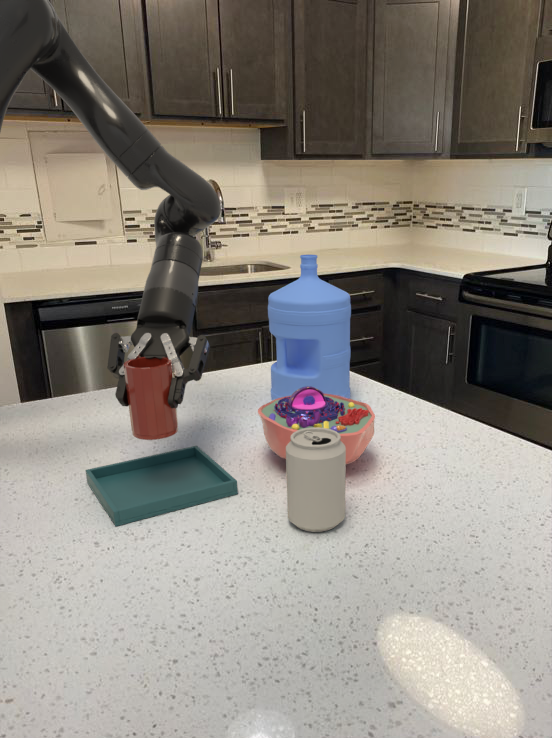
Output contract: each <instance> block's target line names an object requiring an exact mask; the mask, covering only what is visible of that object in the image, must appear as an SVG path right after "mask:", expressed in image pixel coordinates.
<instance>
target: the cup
mask: <svg viewBox="0 0 552 738" xmlns="http://www.w3.org/2000/svg"><path fill="white" fill-rule="evenodd" d="M124 373H125V381H126V389H127V397H128V405H129V406H128V412H129V420H130V421H129V422H130V428H131V433H132V436H133V437H134V438H136V439H139V440H143V441H155V440H157V441H158V440H162V439H163V440H164V439H167V438H169V437H172V436H175V434H176V435H177V433H178V432H179V422H178V421H179V419H178V411H177V409H178V408H171V407H170V405H169V404H168V396H169V391H170V386H171V380H172V377H174V371H173V369H172V360H169V359H168V358H167V357H165V358H163V359H161V360H160V359H157V358H154V359H147V358H145V357H139V358H136V359H130V360H128V361H127V360H125V361H124Z"/></svg>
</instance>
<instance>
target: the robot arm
mask: <svg viewBox="0 0 552 738" xmlns="http://www.w3.org/2000/svg"><path fill="white" fill-rule="evenodd" d="M30 70H31V72H33V73H35V74H36V75H37V76H38V77H39V78H40V79H42V80H43V81H44V82H45V83H46V84H47V85H48V86H49V87H50V88H51V89H52V91H54V92H55V93H56V94H57V95H58V96H59V97H60V99H62V100H63V102H64V103H65V104H66V105H67V106H68V107H69V108H70V110H71V111H72V113H74V115H75V116H76V117H77V119H78V120H79V122H80V123H81V125H83V127H84V128H85V129H86V131H87V132H88V134H90V136H91V137H92V139H93V140H94V141H95V143H96V144H97V145H98V146H99V148H100V149H101V150H102V151H103V152H104V154H105V155H106V156H107V157H108V158H109V160H110V161H111V162H112V163H113V164H114V165H115V166H116V167H117V168H118V169H119V170H120V172H121V173H122V174H123V175H124V176H125V177H126V178H127V179H128V181H129V182H130V183H131V184H132V185H133V186H134V187H136V188H137V189H138V190H140V191H148V190H150V189H153V188H159V189H160V190H162V191H164V192H166V193H167V194H169V195H167V196H166V197H164V198H163V199H162V201H161V202H160V203H159V205H158V207H157V209H156V211H155V215H154V218H153V219H154V223H153V224H154V227H153V228H154V240H155V241H154V243H155V250H154V253H153V257H152V262H151V267H150V269H149V272H148V275H147V277H146V280H145V285H144V287H143V288H144V289H143V293H142V297H141V302H140V305H139V311H138V315H137V320H136V328H135V330H134V331H133V332H132V333H131V335H120V334H119V333H118V332H114V333H112V334H111V336H110V342H109V343H110V344H109V350H108V351H109V352H108V358H107V359H108V360H107V370H108V371H109V372H110V373H111V375H112V376H113V377H114V378H115V379H117V384H116V389H115V398H116V399H117V401H118V403H119V404H120V406H122V407H129V405H128V397H127V389H126V381H125V373H124V363H125V356H126V353H128V352H129V349H130V347H131V346H133V347H134V348H133V349H132V350H131V351H130V352H129V353H128V355H127V358H126V361H128V360H130V359H136V358H139V357H145V358H147V359H154V358H157V359H160V360H161V359H163V358H165V357H167V358H168V359H169V360H172V369H173V375H174V376H173V377H172V380H171V386H170V391H169V396H168V404H169V405H170V407H171V408H176V409H178V407H179V405H181V404H182V403H183V401H184V396H185V390H186V386H187V384H188V383H189V382H192V381H195V382H198V381H200V380H201V379H202V377H203V373H204V371H205V367H206V364H207V360H208V356H209V353H210V349H211V345H210V342H209V340H208V339H207V337H206V335H204V334H200V335H198V336H196V337H194V336H191V332H192V328H193V322H194V316H195V313H196V306H197V304H198V296H199V283H200V282H199V281H200V275H201V271H202V267H203V266H202V265H203V259H204V251H203V247H202V245H201V243H200V242H199V240H198V239H197V238H196V236H197V235H198V234H200V233H201V232H203V231H204V230H206V229H207V228H209V227H211V226H212V225H213V224H214V223H215V222H216V221H218V219H219V218H220V216H221V213H222V212H221V211H222V207H221V206H222V205H221V201H220V198H219V195H218V193H217V192H216V190H215V188H214V187H213V186H212V185H211V183H210V182H208V181H207V180H206V179H205V178H204V177H202V175H200V174H199V173H197V172H196V171H194V170H193V169H191V168H190V167H188V166H187V165H186V164H185V163H183V162H182V161H180V159H177V158H176V157H175V156H174V155H172V154H170V153H169V152H168V150H166V149H165V147H164V146H163V145H162V144H161V143H160V141H159V139H157V138H156V136H154V134H153V133H152V132H151V131H150V129H149V128H148V127H147V126H146V125H145V123H143V121H141V120H140V118H139V117H138V116H137V115H136V114H135V113H134V112H133V111H132V110H131V108H129V106H128V105H127V104H126V103H125V102H124V101H123V100H122V99H121V98H120V97H119V96H118V95H117V94H116V93H115V91H113V89H112V88H111V87H110V86H109V85H108V84H107V83H106V82H105V81H104V79H103V78H102V76H100V74H98V72H97V71H96V70H95V68H94V67H93V66H92V65H91V63H90V62H89V61H88V59H87V58H86V56H84V54H83V53H82V51H81V50H80V49H79V47H78V46H77V44H76V42H75V41H74V40H73V38H72V37H71V34H70V33H69V32H68V30H67V28H66V27H65V25H64V24H63V23H62V20H61V19H60V17H59V15H58V13H57V11H56V9H55V7H54V6H53V4H52V3H51V1H50V0H0V133H1V132H2V129H3V128H2V127H3V124H4V120H5V116H6V113H7V110H8V108H9V105H10V103H11V101H12V99H13V96H14V95H15V94H16V92H17V90H18V89H19V87H20V85H22V82H23V81H24V79H25V77H26V76H27V74H28V73H29V72H30ZM189 348H191V350H192V355H191V357H190V361H189V364H188V367H187V368H185V366H184V364H183V360H182V359H181V356H183V355H184V353H185V352H186V351H188V350H189Z"/></svg>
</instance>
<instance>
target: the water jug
mask: <svg viewBox="0 0 552 738" xmlns="http://www.w3.org/2000/svg"><path fill="white" fill-rule="evenodd" d="M299 258H300V264H299V268H300V276H299V277H298V279H296V280H294V281H292V282H290V283H288V284H286V285H285V286H283V287H280V288H279V289H277V290H274V291H273V292H270V294H269V295H268V296H267V297H268V298H267V299H268V303H267V318H268V329H269V332H270V334H271V335H273V336H274V338H275V346H276V348H275V349H276V361H274V362H273V363H272V364H271V366H270V382H271V383H270V384H271V385H270V399H271V401H273V400H275V399H277V398H281V397H286V396H291V395H292V394H293V393H294V392H295V391H296V390H298V389H300V388H302V387H305V386H311V387H314V388H316V389H318V390H320V391H322V392H323V393H324V394H333V395H338V396H342V397H345V398H348V399H351V387H350V378H351V377H350V372H351V371H350V370H351V369H350V368H351V367H350V366H351V365H350V364H351V363H350V362H351V356H352V355H351V352H352V351H351V318H352V317H351V316H352V304H351V295H350V293H348V292H347V291H345V290H343V289H341V288H339V287H337V286H335V285H333V284H331V283H329V282H327V281H325V280H322V279H321V278H320V277H319V276H318V265H319V264H318V262H317V261H318V260H317V259H318V255H317V254H301V255H300V256H299Z"/></svg>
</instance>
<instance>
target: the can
mask: <svg viewBox="0 0 552 738" xmlns="http://www.w3.org/2000/svg"><path fill="white" fill-rule="evenodd" d="M340 439H341V437H340V434H339V433H338V432H336V431H334V430H331V429H327V428H319V427H316V428H305V429H301V430H298V431H296V432H294V433H293V434H292V435H291V441H290V442H289V443H288V445H287V446H286V459H285V472H286V474H285V475H286V504H287V505H286V507H287V508H286V510H287V519H288V521H289V522H290V523H292V524H293V525H294V526H295V527H297V528H298V529H299V530H302V531H305V532H312V533H322V532H327V531H330V530H333V529H334V528H335V527H337V526H338V525H340V523H342V522H343V521H344V519H345V517H346V470H347V469H346V468H347V467H346V466H347V465H346V448H345V445H344V444H343V443H342V442H341V441H340Z"/></svg>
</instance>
